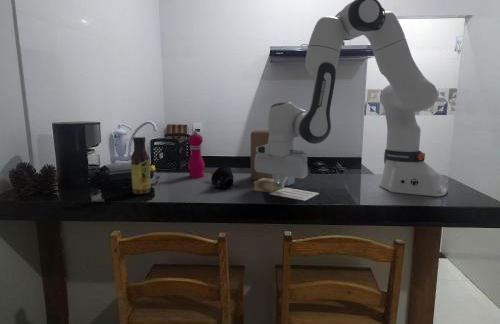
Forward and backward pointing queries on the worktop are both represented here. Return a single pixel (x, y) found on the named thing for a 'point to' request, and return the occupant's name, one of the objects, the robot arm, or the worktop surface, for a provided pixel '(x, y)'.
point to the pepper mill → (196, 156)
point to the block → (256, 140)
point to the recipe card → (294, 193)
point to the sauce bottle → (140, 167)
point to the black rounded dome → (222, 177)
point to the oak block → (265, 185)
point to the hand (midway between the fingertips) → (279, 187)
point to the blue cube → (288, 180)
